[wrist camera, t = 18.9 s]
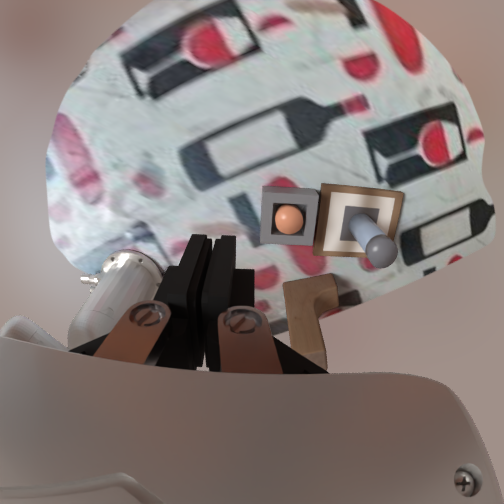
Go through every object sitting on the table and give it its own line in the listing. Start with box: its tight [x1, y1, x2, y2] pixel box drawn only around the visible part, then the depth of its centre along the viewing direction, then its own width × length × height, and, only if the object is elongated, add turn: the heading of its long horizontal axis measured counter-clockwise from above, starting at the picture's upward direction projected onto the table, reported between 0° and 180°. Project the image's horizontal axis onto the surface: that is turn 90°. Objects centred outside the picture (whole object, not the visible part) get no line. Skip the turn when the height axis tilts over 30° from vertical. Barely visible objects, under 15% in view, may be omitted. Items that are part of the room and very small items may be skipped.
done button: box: [275, 203, 303, 234], centre depth 45 cm, size 4×4×2 cm
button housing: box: [260, 186, 319, 246], centre depth 46 cm, size 8×8×4 cm
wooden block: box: [283, 273, 339, 370], centre depth 46 cm, size 9×4×18 cm, turn 103°
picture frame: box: [313, 183, 404, 258], centre depth 48 cm, size 14×12×1 cm
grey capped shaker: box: [349, 213, 398, 268], centre depth 43 cm, size 4×4×10 cm
